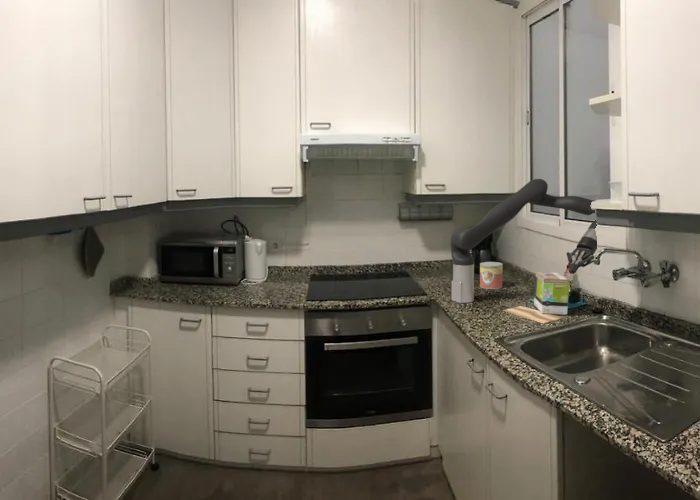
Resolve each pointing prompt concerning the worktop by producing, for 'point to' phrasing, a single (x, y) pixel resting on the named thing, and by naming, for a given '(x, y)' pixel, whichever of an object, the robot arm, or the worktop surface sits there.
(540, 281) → the tea box
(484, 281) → the canned food
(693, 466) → the worktop surface
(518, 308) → the wooden cutting board
